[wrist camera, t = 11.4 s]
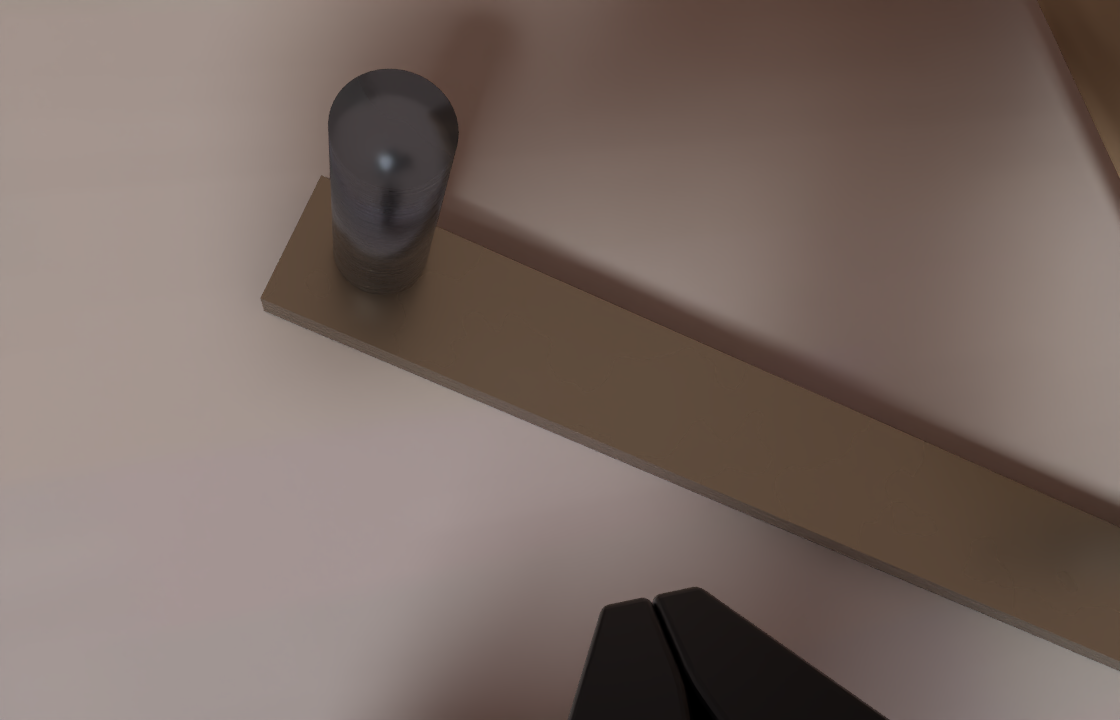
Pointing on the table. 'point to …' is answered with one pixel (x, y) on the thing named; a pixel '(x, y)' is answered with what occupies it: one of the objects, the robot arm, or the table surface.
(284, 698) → the table surface
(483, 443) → the table surface
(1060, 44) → the gate leaf
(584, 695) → the robot arm
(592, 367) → the gate frame
